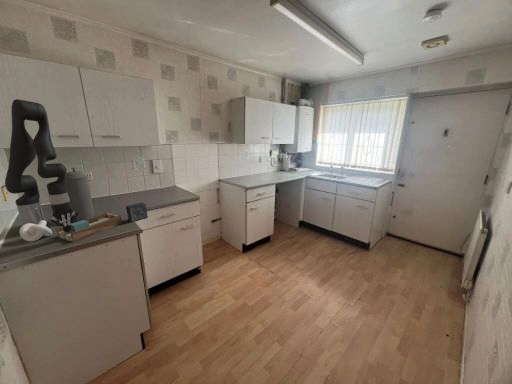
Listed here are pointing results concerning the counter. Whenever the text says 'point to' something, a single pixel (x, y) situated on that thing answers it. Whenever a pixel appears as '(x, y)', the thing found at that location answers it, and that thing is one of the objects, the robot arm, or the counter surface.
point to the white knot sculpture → (34, 231)
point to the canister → (79, 194)
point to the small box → (136, 212)
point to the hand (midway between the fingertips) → (67, 231)
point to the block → (79, 225)
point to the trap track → (91, 227)
